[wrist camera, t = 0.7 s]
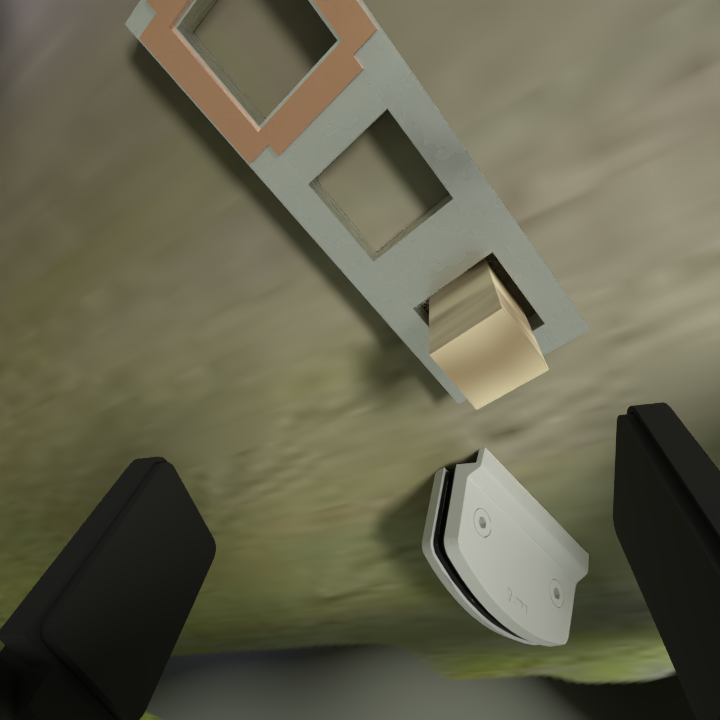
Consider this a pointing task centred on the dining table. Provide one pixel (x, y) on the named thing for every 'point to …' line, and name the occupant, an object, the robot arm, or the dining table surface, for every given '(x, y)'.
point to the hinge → (502, 553)
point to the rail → (332, 137)
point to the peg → (482, 336)
